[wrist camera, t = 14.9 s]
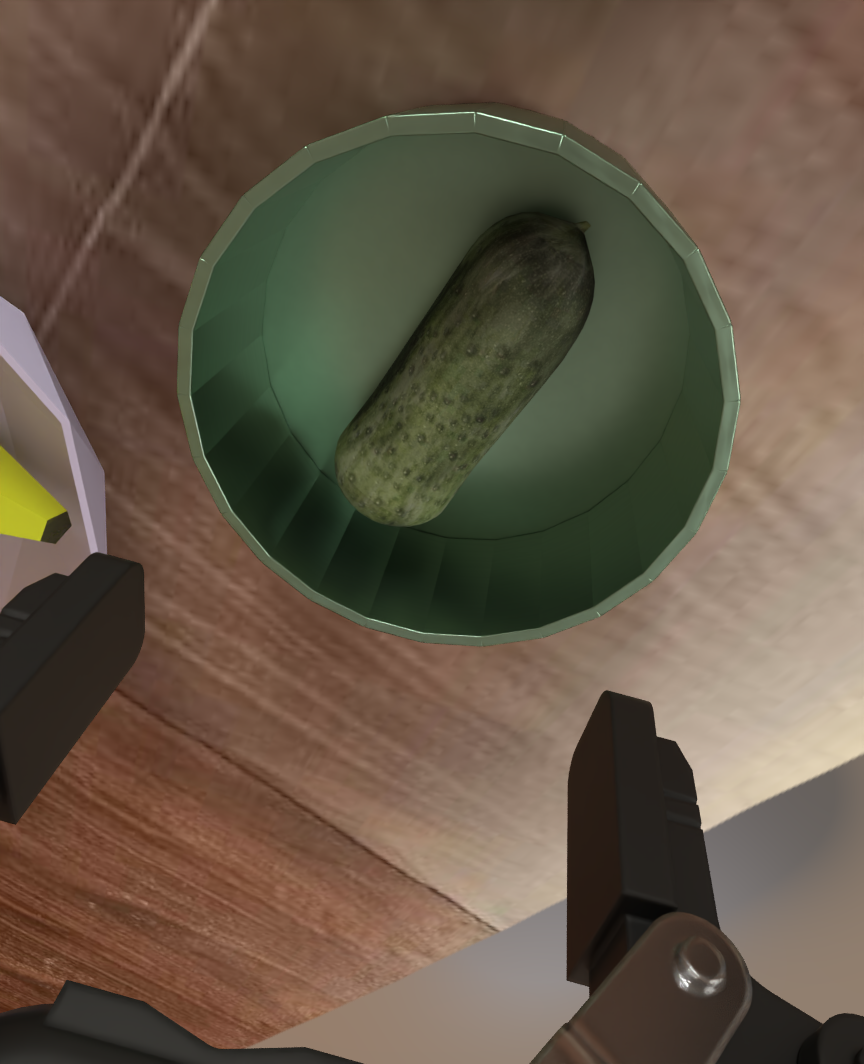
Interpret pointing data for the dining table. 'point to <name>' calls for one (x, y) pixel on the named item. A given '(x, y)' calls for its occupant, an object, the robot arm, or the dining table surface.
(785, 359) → the dining table surface
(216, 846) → the dining table surface
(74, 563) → the fruit bowl
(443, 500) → the vegetable
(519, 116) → the green open cylinder
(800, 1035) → the robot arm
